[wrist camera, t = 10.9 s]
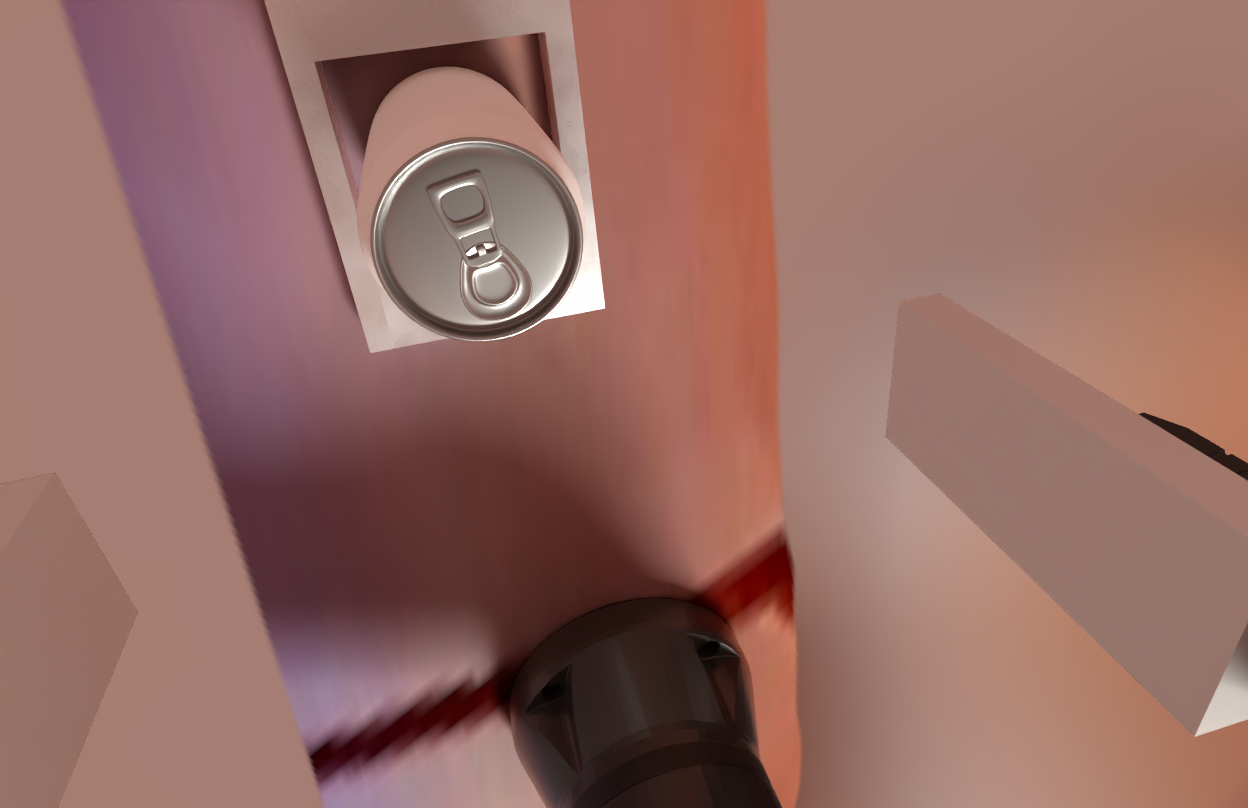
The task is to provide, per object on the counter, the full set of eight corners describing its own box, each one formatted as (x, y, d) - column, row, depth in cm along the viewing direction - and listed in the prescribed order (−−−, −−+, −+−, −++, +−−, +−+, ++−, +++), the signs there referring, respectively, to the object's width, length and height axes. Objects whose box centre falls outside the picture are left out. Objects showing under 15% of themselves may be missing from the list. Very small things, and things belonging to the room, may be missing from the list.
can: (410, 253, 32) (414, 387, 22) (338, 96, 28) (305, 170, 18) (555, 202, 32) (625, 310, 22) (502, 41, 29) (557, 83, 19)
